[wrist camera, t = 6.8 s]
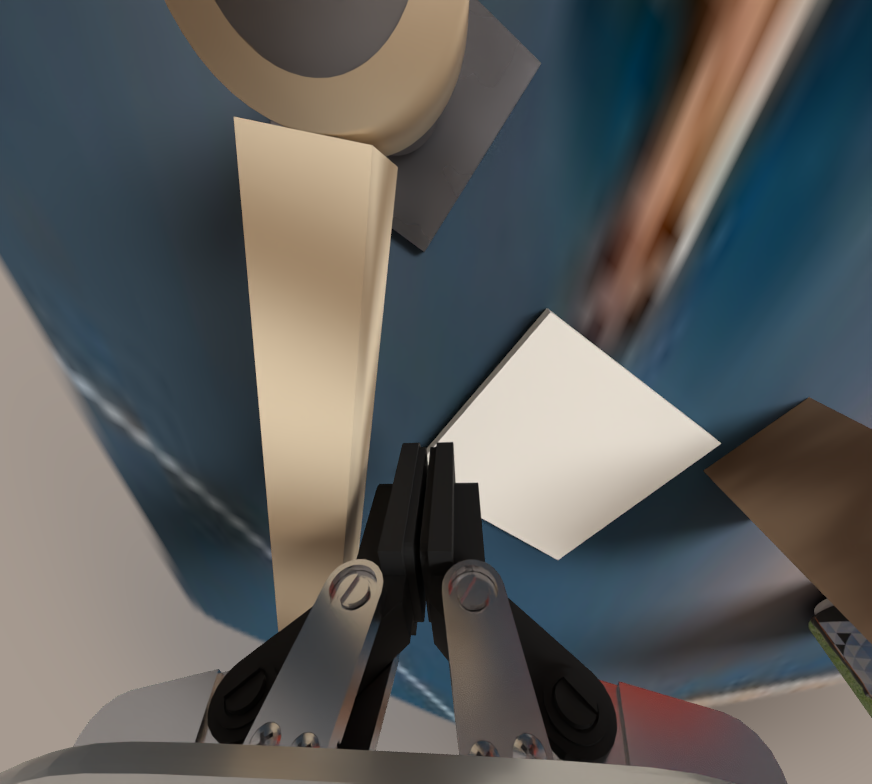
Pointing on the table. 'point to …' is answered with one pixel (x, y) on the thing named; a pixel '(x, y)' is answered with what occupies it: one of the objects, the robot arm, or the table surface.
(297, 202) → the swing arm
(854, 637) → the beverage can
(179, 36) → the table surface
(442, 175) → the pivot plate
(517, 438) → the tile
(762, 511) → the walnut block
